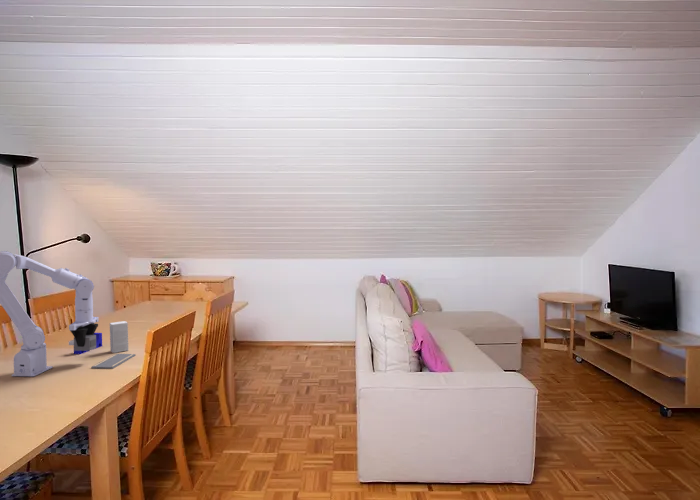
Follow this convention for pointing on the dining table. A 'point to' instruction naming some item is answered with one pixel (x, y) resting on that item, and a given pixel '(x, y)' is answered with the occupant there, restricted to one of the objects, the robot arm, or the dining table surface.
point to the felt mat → (113, 361)
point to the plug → (89, 343)
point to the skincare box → (119, 336)
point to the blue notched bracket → (98, 343)
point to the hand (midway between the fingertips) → (84, 344)
